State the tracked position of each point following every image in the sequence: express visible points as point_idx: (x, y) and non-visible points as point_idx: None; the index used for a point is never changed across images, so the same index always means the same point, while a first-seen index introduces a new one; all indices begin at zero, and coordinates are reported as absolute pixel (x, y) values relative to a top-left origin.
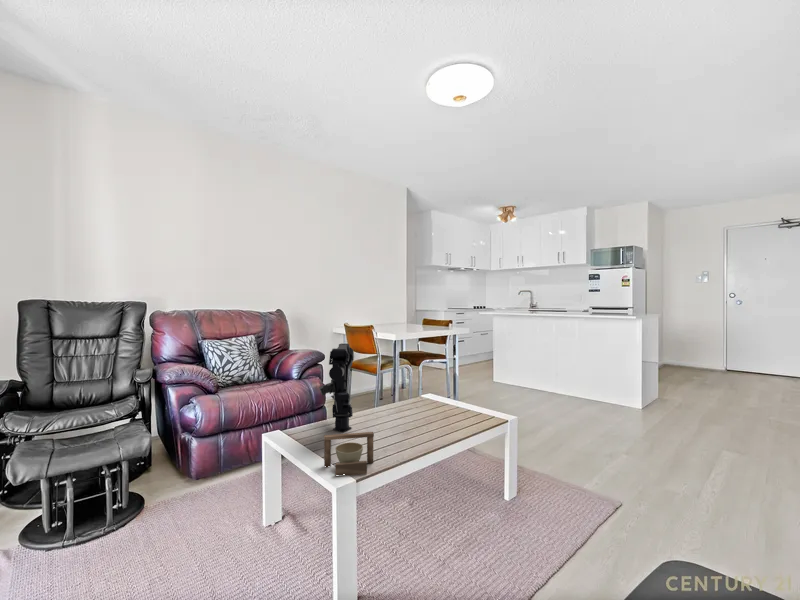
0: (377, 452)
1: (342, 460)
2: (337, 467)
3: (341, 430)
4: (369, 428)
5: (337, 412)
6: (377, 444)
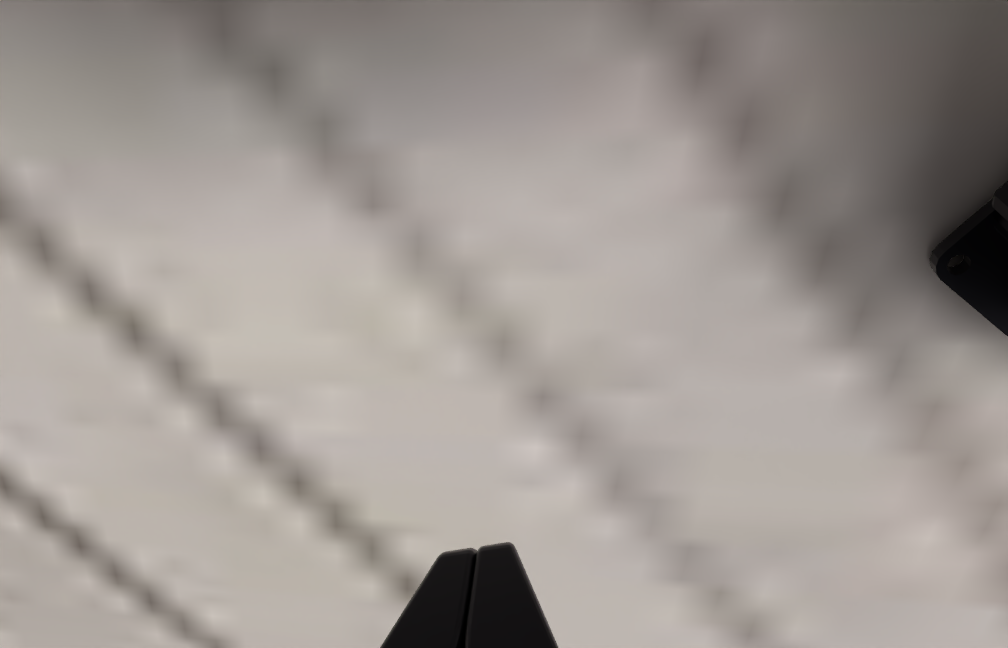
0: (91, 620)
1: None
2: None
3: (985, 237)
4: (976, 621)
5: (468, 549)
6: (331, 643)
